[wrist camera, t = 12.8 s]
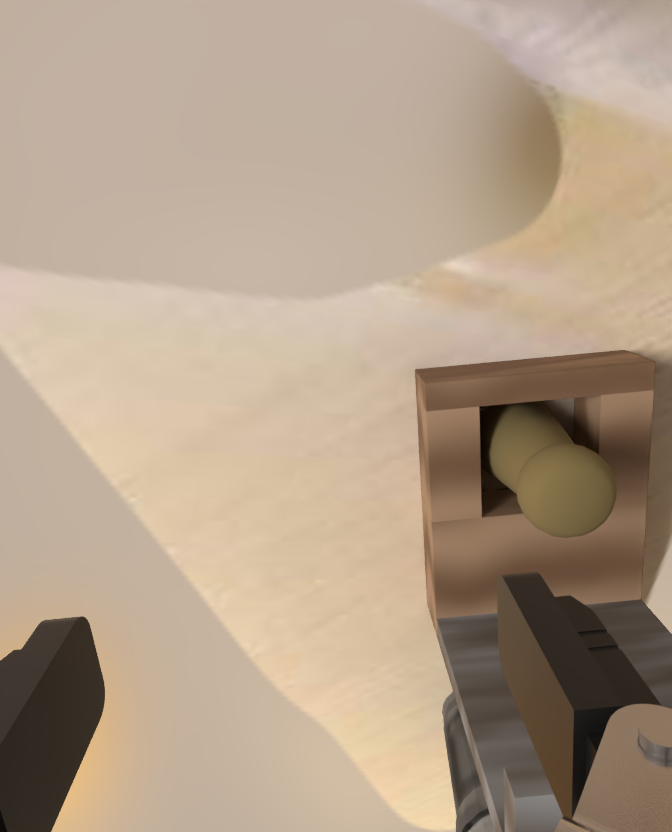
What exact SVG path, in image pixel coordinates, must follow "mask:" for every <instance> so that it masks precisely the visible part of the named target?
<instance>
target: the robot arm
mask: <svg viewBox="0 0 672 832" xmlns="http://www.w3.org/2000/svg"><path fill="white" fill-rule="evenodd" d="M497 615H498V648H499V655H500V661H501V666H502V669H503V673H504V676H505V679H506V681H507V684H508V686H509V688H510V691H511V693H512V695H513V698H514V700H515V703H516V705H517V707H518V710H519V712H520V715H521V717H522V719H523V722H524V724H525V726H526V729H527V731H528V734H529V736H530V738H531V741H532V743H533V746H534V748H535V750H536V753H537V755H538V757H539V760H540V762H541V765H542V767H543V769H544V772H545V774H546V777H547V779H548V781H549V784H550V786H551V788H552V791H553V793H554V796H555V798H556V800H557V803H558V805H559V808H560V810H561V812H562V815H563V818H562V819H561V820H560V821H559V823H558V825H557V827H556V830H555V832H672V709H670V708H667V707H663V706H662V705H661V704H660V703H659V701H658V700H657V698H656V697H655V696H654V694H653V693H652V692H651V690H650V689H649V687H648V686H647V685H646V683H645V682H644V680H643V679H642V678H641V676H640V675H639V674H638V672H637V671H636V669H635V668H634V667H633V665H632V664H631V662H630V661H629V660H628V658H627V657H626V655H625V654H624V653H623V651H622V650H621V649H619V648H618V644H617V643H616V642H615V640H614V639H613V637H612V636H611V635H610V633H607V629H606V628H605V626H604V625H603V624H602V622H601V621H600V619H599V618H598V617H597V615H596V614H595V613H594V611H593V610H592V609H590V608H589V607H587V606H586V605H584V604H583V603H581V602H580V601H578V600H577V599H575V598H574V597H572V596H571V595H568V596H558V597H555V596H554V595H553V593H552V592H551V590H550V589H549V587H548V586H547V584H546V583H545V581H544V579H543V578H542V576H541V575H540V574H539V573H538V572H530V573H520V574H510V575H500V576H499V577H498V580H497ZM104 700H105V687H104V680H103V676H102V672H101V668H100V664H99V660H98V656H97V652H96V648H95V645H94V640H93V636H92V632H91V628H90V625H89V622H88V620H87V619H86V618H85V617H72V618H63V619H53V620H44V621H42V622H41V623H40V624H39V625H38V626H37V628H36V629H35V631H34V632H33V634H32V635H31V636H30V638H29V639H28V641H27V642H26V644H25V645H24V647H23V648H22V649H21V650H14V651H12V652H11V653H10V654H8V655H7V656H6V657H5V658H3V659H2V660H1V661H0V832H51V831H52V828H53V826H54V824H55V821H56V819H57V817H58V815H59V812H60V810H61V808H62V805H63V803H64V801H65V799H66V796H67V794H68V792H69V789H70V787H71V785H72V783H73V780H74V778H75V776H76V773H77V771H78V769H79V767H80V764H81V762H82V760H83V757H84V755H85V753H86V750H87V748H88V746H89V744H90V741H91V739H92V737H93V734H94V732H95V730H96V728H97V725H98V723H99V721H100V718H101V716H102V712H103V708H104Z"/></svg>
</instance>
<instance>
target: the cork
mask: <svg viewBox="0 0 672 832" xmlns="http://www.w3.org/2000/svg"><path fill="white" fill-rule="evenodd" d="M480 460H481V465H482V466H483V467H484V468H485V469H486V470H487V471H488V472H489V473H490V474H492V475H493V476H494V477H496V478H497V479H498V480H499V481H501V482H502V483H503V484H504V485H506V486H507V487H508V488H509V489H511V490H512V491H513V492H515V493H516V494H517V499H518V503H519V505H520V507H521V510H522V512H523V514H524V515H525V517H526V518H527V519H528V520H529V521H530V522H531V523H532V524H533V525H534V526H535V527H536V528H537V529H539V530H541V531H543V532H545V533H547V534H549V535H551V536H555V537H562V538H570V537H577V536H583V535H585V534H588V533H590V532H592V531H594V530H596V529H597V528H598V527H599V526H601V525H602V524H603V523H604V522H605V521H606V520H607V518H608V517H609V515H610V514H611V512H612V510H613V507H614V504H615V501H616V497H617V483H616V481H615V478H614V476H613V473H612V471H611V469H610V466H609V465H608V464H607V463H606V462H605V461H604V460H603V459H602V457H601V456H599V455H598V454H597V453H595V452H594V451H592V450H590V449H588V448H586V447H584V446H580V445H575V444H574V442H573V441H572V440H571V438H570V437H569V435H568V434H567V433H566V431H565V430H564V428H563V427H562V426H561V424H560V423H559V421H558V420H557V419H556V417H555V416H554V414H553V413H552V412H551V411H550V410H549V408H548V407H547V406H546V405H545V404H544V403H543V402H541V401H533V402H523V403H512V404H501V405H491V406H488V407H486V408H485V409H484V410H483V411H482V412H481V413H480Z"/></svg>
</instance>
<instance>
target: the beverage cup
mask: <svg viewBox="0 0 672 832" xmlns="http://www.w3.org/2000/svg"><path fill="white" fill-rule="evenodd" d="M442 713H443V717H444V719H443V720H444V733H445V740H446V747H447V754H448V760H449V767H450V774H451V781H452V788H453V794H454V801H455V808H456V815H457V819H456V832H495V830H494V826H493V823H492V820H491V816H490V813H489V810H488V806H487V803H486V800H485V796H484V793H483V789H482V786H481V783H480V779H479V776H478V773H477V769H476V766H475V763H474V759H473V756H472V752H471V749H470V746H469V742H468V739H467V736H466V732H465V729H464V726H463V722H462V719H461V715H460V712H459V709H458V705H457V702H456V699H455V695H454V692H453V693H452V694H451V695H450V696H449V697H448V698H447V699H446V701H445V703H444V705H443V711H442Z"/></svg>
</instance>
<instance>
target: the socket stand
mask: <svg viewBox="0 0 672 832" xmlns="http://www.w3.org/2000/svg"><path fill="white" fill-rule="evenodd" d="M655 363H656V362H653V361H651V360H648V359H646V358H643V357H641V356H638V355H635V354H633V353H630V352H628V351H625V350H620V351H609V352H599V353H588V354H577V355H566V356H556V357H545V358H534V359H523V360H513V361H502V362H491V363H480V364H469V365H459V366H448V367H437V368H426V369H416V370H415V378H416V397H417V416H418V435H419V454H420V473H421V492H422V511H423V530H424V549H425V568H426V587H427V604H428V608H429V611H430V615H431V618H432V621H433V625H434V628H435V631H436V635H437V638H438V641H439V645H440V648H441V652H442V655H443V658H444V662H445V665H446V668H447V672H448V675H449V678H450V682H451V685H452V689H453V692H454V695H455V699H456V702H457V705H458V709H459V712H460V715H461V719H462V722H463V726H464V729H465V732H466V736H467V739H468V742H469V746H470V749H471V752H472V756H473V759H474V763H475V766H476V769H477V773H478V776H479V779H480V783H481V786H482V789H483V793H484V796H485V800H486V803H487V806H488V810H489V813H490V816H491V820H492V823H493V826H494V830H495V832H555V830H556V827H557V825H558V823H559V821H560V820H561V819H562V818H563V815H562V812H561V810H560V808H559V805H558V803H557V800H556V798H555V796H554V793H553V791H552V788H551V786H550V784H549V781H548V779H547V777H546V774H545V772H544V769H543V767H542V765H541V762H540V760H539V757H538V755H537V753H536V750H535V748H534V746H533V743H532V741H531V738H530V736H529V734H528V731H527V729H526V726H525V724H524V722H523V719H522V717H521V715H520V712H519V710H518V707H517V705H516V703H515V700H514V698H513V695H512V693H511V691H510V688H509V686H508V684H507V681H506V679H505V676H504V673H503V669H502V666H501V661H500V655H499V648H498V615H497V580H498V577H499V576H500V575H510V574H520V573H530V572H538V573H539V574H540V575H541V576H542V578H543V579H544V581H545V583H546V584H547V586H548V587H549V589H550V590H551V592H552V593H553V595H554V596H555V597H558V596H568V595H571V596H572V597H574V598H575V599H577V600H578V601H580V602H581V603H583V604H584V605H586V606H587V607H589V608H590V609H592V610H593V611H594V613H595V614H596V615H597V617H598V618H599V619H600V621H601V622H602V624H603V625H604V626H605V628H606V629H607V633H610V635H611V636H612V637H613V639H614V640H615V642H616V643H617V644H618V648H619V649H621V650H622V651H623V653H624V654H625V655H626V657H627V658H628V660H629V661H630V662H631V664H632V665H633V667H634V668H635V669H636V671H637V672H638V674H639V675H640V676H641V678H642V679H643V680H644V682H645V683H646V685H647V686H648V687H649V689H650V690H651V692H652V693H653V694H654V696H655V697H656V698H657V700H658V701H659V703H660V704H661V705H662V706H663V707H667V708H670V709H672V634H671V633H670V632H669V631H668V630H667V629H666V627H665V626H664V625H663V624H662V623H661V622H660V620H659V619H658V618H657V617H656V616H655V615H654V614H653V613H652V611H651V610H650V609H649V608H648V607H647V606H646V605H645V603H644V602H643V601H642V600H641V590H642V574H643V558H644V542H645V525H646V509H647V493H648V477H649V460H650V444H651V428H652V412H653V395H654V379H655ZM566 398H575V404H574V444H575V445H580V446H584V447H586V448H588V449H590V450H592V451H594V452H595V453H597V454H598V455H599V456H601V457H602V459H603V460H604V461H605V462H606V463H607V464H608V465H609V466H610V469H611V471H612V473H613V476H614V478H615V481H616V483H617V497H616V501H615V504H614V507H613V510H612V512H611V514H610V515H609V517H608V518H607V520H606V521H605V522H604V523H603V524H602V525H601V526H599V527H598V528H597V529H596V530H594V531H592V532H590V533H588V534H585V535H583V536H577V537H570V538H562V537H555V536H551V535H549V534H547V533H545V532H543V531H541V530H539V529H537V528H536V527H535V526H534V525H533V524H532V523H531V522H530V521H529V520H528V519H527V518H526V517H525V515H524V514H523V512H522V510H521V507H520V505H519V503H518V499H517V494H516V493H515V492H513V491H512V490H511V489H501V490H490V491H481V460H480V415H479V407H480V406H491V405H501V404H512V403H523V402H533V401H544V400H555V399H566Z"/></svg>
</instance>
